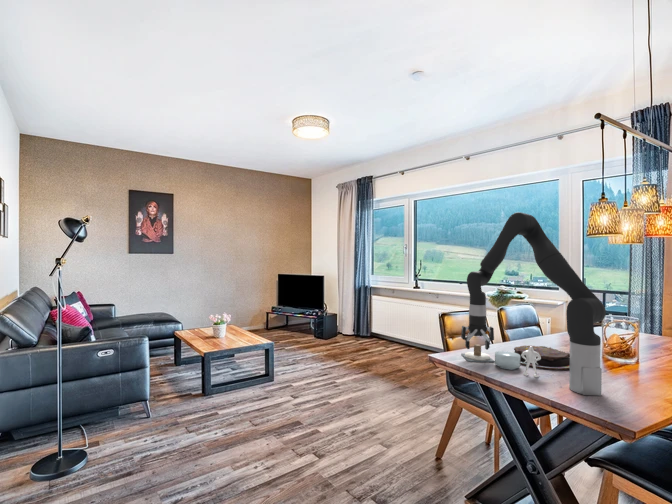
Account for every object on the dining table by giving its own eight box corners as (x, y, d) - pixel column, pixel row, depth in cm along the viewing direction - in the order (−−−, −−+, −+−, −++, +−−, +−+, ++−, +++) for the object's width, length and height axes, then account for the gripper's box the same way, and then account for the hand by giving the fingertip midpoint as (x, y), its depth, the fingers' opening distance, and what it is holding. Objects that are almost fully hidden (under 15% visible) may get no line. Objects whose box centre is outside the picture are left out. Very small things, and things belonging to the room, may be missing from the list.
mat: (494, 362, 167) (494, 361, 167) (468, 361, 167) (468, 360, 167) (486, 355, 178) (486, 354, 178) (461, 354, 179) (461, 353, 179)
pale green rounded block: (524, 371, 155) (524, 357, 155) (499, 370, 156) (499, 357, 156) (514, 363, 165) (514, 351, 165) (491, 363, 166) (491, 350, 166)
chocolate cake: (525, 350, 189) (525, 337, 189) (588, 363, 167) (588, 349, 167) (495, 359, 173) (495, 345, 173) (559, 376, 150) (560, 359, 150)
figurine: (541, 375, 149) (541, 346, 149) (540, 379, 145) (540, 348, 145) (521, 372, 152) (521, 343, 152) (520, 375, 149) (520, 345, 149)
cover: (493, 360, 167) (493, 348, 167) (468, 360, 168) (468, 348, 168) (485, 354, 178) (485, 342, 178) (462, 353, 179) (462, 342, 179)
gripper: (464, 315, 170) (463, 350, 170) (496, 315, 168) (496, 351, 169) (459, 312, 177) (459, 346, 177) (490, 313, 176) (490, 347, 176)
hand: (477, 349), depth 173 cm, fingers open, 8 cm apart
